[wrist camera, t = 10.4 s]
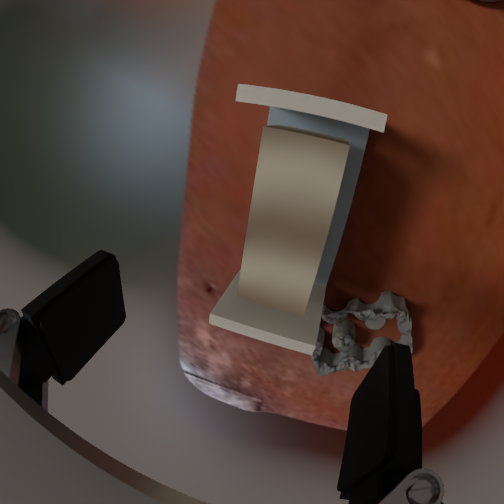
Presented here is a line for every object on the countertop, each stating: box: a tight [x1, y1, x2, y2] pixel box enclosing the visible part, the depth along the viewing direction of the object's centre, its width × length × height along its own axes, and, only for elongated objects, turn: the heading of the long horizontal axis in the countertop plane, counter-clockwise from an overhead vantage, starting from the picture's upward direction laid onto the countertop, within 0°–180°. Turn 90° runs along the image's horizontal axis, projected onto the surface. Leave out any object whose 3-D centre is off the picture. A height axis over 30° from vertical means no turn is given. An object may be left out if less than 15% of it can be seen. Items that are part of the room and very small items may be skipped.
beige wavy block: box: [237, 125, 350, 316], centre depth 20 cm, size 12×5×4 cm, turn 171°
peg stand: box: [209, 84, 387, 355], centre depth 22 cm, size 17×8×9 cm, turn 171°
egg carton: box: [311, 291, 413, 376], centre depth 28 cm, size 11×8×4 cm
